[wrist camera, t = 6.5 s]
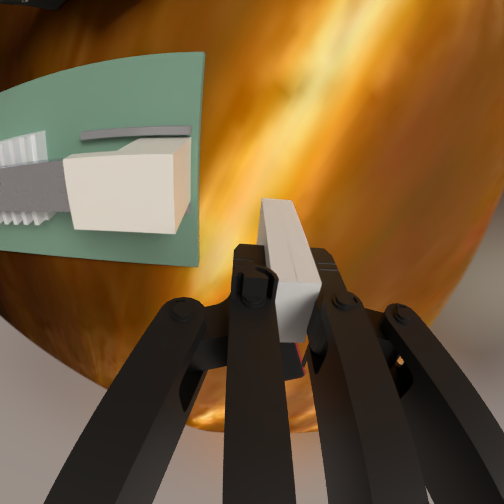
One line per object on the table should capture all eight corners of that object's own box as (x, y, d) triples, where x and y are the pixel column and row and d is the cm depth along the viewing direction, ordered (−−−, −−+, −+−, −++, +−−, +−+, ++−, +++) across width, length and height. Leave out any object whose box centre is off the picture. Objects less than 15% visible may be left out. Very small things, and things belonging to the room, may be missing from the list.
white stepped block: (100, 140, 18) (62, 159, 14) (191, 137, 19) (173, 154, 14) (105, 198, 21) (74, 229, 16) (190, 199, 22) (175, 234, 17)
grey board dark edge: (-27, 207, 18) (-34, 212, 17) (-35, 173, 16) (-42, 177, 15) (79, 206, 18) (71, 213, 17) (72, 156, 16) (63, 161, 15)
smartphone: (255, 386, 38) (218, 320, 30) (255, 381, 38) (218, 314, 30) (306, 376, 37) (285, 306, 29) (305, 371, 37) (284, 300, 29)
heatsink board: (-30, 108, 15) (-66, 121, 10) (205, 53, 16) (190, 40, 11) (-5, 244, 24) (-30, 272, 19) (199, 260, 26) (189, 305, 21)
